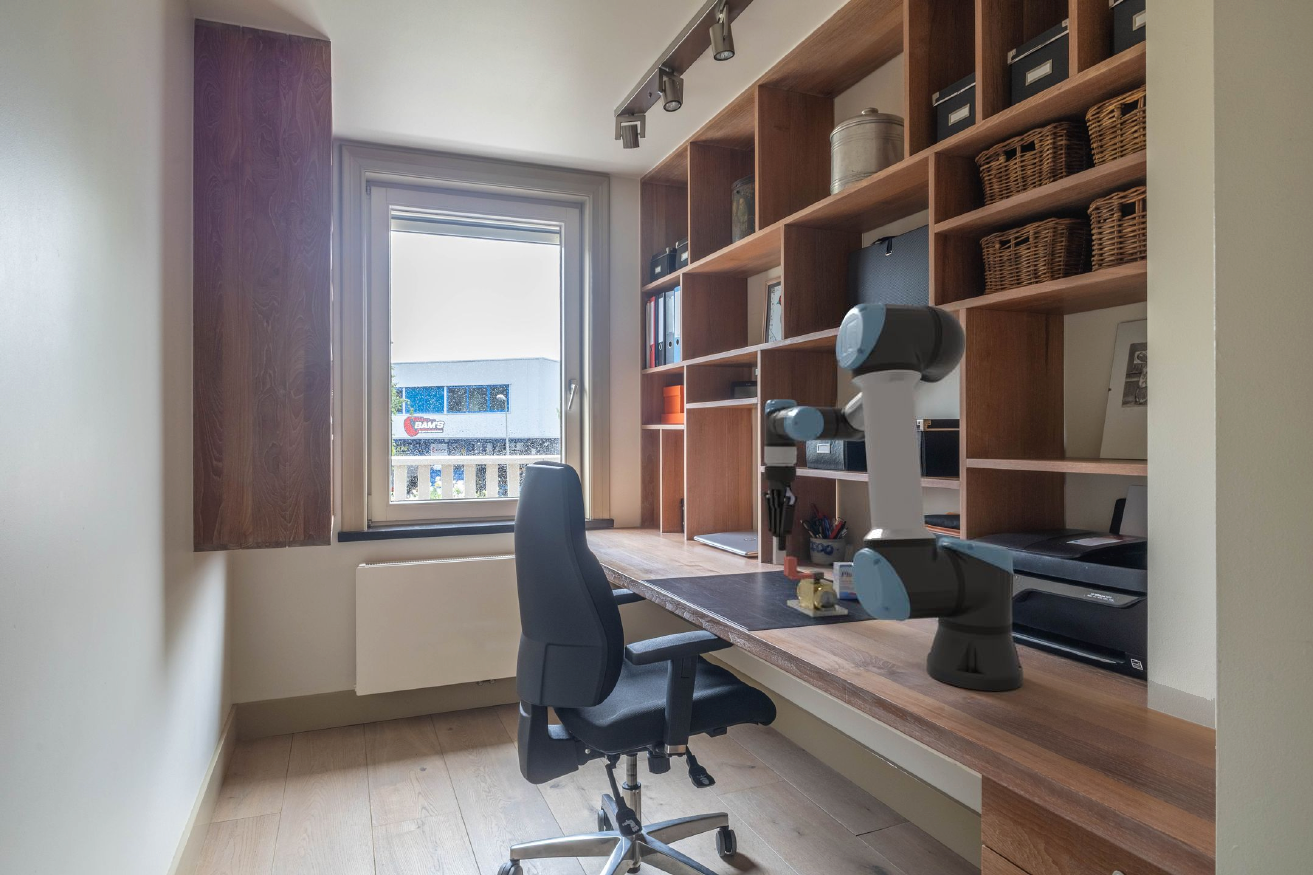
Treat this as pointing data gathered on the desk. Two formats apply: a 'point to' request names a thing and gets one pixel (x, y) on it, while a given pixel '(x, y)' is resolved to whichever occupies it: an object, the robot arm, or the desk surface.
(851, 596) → the medicine box
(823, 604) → the valve fixture
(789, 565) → the lever
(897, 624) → the desk surface
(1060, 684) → the desk surface
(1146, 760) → the desk surface
